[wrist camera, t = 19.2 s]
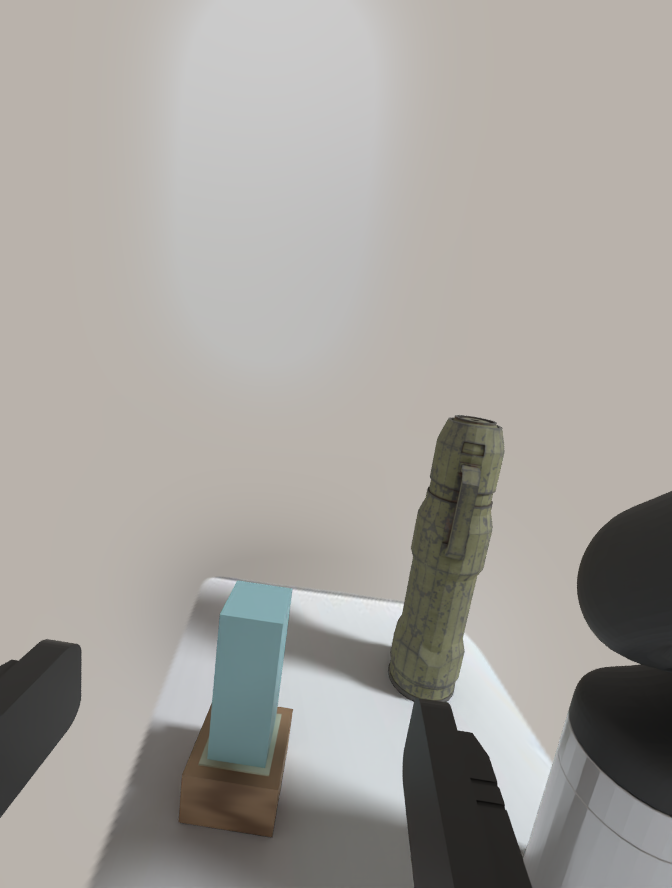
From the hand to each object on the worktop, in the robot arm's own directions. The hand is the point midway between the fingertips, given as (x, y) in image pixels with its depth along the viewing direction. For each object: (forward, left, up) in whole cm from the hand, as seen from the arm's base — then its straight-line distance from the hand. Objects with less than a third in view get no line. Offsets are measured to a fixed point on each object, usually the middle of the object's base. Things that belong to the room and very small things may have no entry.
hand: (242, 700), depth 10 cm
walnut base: (-9, -21, -32) cm, 40 cm away
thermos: (-35, -25, -32) cm, 54 cm away
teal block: (-9, -21, -27) cm, 35 cm away
